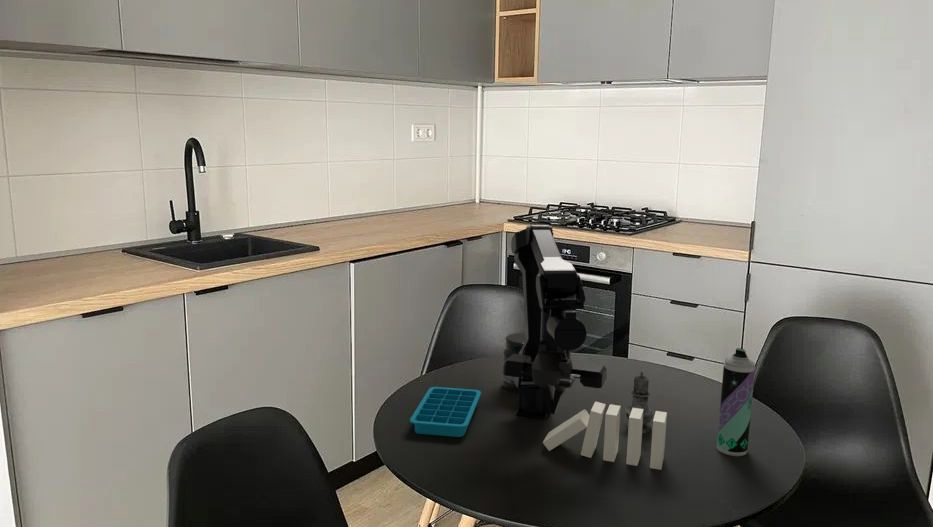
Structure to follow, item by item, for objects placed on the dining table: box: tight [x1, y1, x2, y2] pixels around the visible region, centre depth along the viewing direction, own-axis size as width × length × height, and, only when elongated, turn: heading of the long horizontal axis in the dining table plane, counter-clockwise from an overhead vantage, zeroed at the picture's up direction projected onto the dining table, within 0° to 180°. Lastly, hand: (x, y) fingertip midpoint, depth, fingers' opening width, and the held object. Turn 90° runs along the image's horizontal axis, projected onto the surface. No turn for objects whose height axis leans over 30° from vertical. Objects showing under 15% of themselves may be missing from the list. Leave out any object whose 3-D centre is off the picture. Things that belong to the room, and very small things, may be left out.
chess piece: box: [624, 371, 655, 434], centre depth 146 cm, size 6×6×12 cm
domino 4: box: [625, 408, 644, 467], centre depth 132 cm, size 2×5×9 cm, turn 160°
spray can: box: [716, 347, 756, 457], centre depth 136 cm, size 6×6×20 cm
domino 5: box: [649, 410, 668, 471], centre depth 131 cm, size 2×5×9 cm, turn 160°
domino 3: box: [602, 403, 622, 463], centre depth 133 cm, size 2×5×9 cm, turn 160°
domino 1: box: [542, 409, 590, 452], centre depth 136 cm, size 2×5×9 cm
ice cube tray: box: [409, 386, 482, 438], centre depth 151 cm, size 12×20×3 cm, turn 170°
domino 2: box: [580, 400, 606, 459], centre depth 135 cm, size 2×5×9 cm, turn 160°
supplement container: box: [501, 332, 526, 394], centre depth 168 cm, size 10×10×12 cm
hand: (552, 413), depth 137 cm, fingers closed
